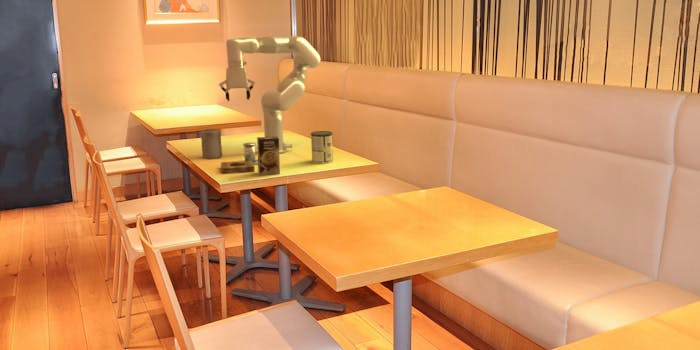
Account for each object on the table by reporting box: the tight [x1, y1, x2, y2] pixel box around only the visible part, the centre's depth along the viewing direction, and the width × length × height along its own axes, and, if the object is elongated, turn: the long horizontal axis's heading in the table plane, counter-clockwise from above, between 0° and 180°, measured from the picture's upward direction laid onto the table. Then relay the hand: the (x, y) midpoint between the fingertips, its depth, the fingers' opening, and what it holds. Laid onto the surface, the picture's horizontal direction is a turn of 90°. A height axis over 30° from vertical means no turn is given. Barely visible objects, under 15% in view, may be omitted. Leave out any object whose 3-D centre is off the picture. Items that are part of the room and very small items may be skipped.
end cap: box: [242, 142, 257, 163], centre depth 305 cm, size 6×6×9 cm
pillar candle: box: [200, 127, 223, 160], centre depth 319 cm, size 10×10×15 cm
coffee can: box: [310, 130, 334, 164], centre depth 306 cm, size 10×10×14 cm
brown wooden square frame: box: [220, 160, 255, 175], centre depth 292 cm, size 14×14×2 cm
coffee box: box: [256, 136, 281, 176], centre depth 282 cm, size 9×6×16 cm
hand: (238, 100), depth 313 cm, fingers open, 9 cm apart
